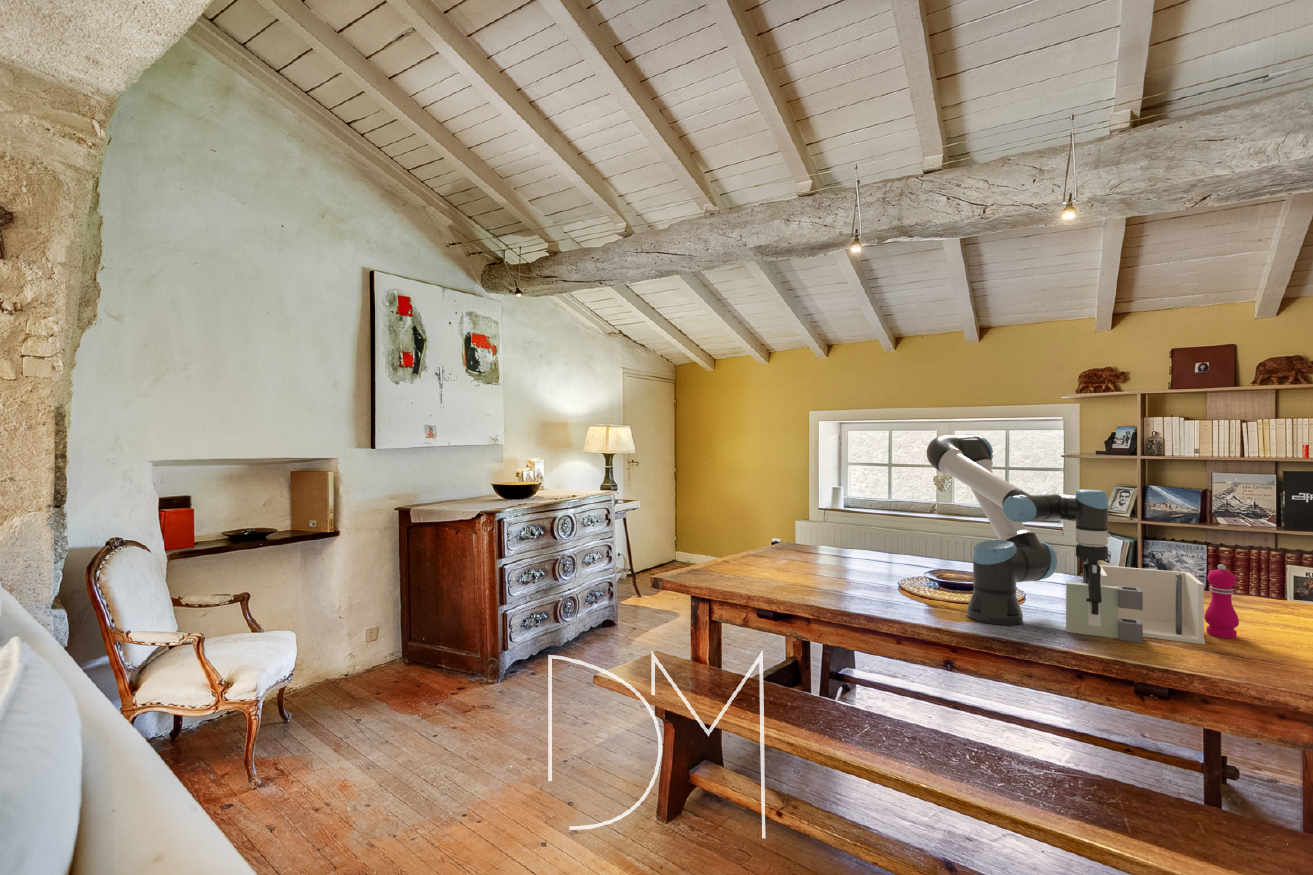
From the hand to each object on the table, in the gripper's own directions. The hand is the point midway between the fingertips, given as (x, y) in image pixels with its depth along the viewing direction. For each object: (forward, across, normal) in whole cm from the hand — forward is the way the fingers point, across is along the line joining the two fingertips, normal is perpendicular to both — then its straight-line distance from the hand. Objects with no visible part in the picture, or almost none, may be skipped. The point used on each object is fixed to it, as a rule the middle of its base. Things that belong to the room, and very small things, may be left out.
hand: (1091, 618), depth 177 cm
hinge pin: (+3, +7, -21) cm, 22 cm away
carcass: (+4, +12, -14) cm, 19 cm away
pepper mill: (+4, +16, -32) cm, 36 cm away
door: (+4, 0, -3) cm, 5 cm away
